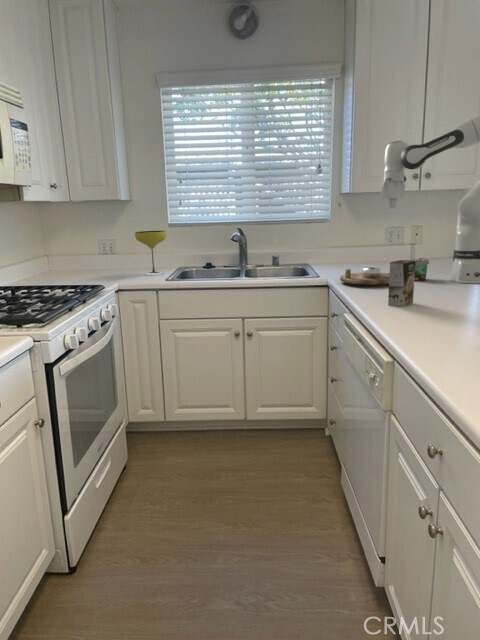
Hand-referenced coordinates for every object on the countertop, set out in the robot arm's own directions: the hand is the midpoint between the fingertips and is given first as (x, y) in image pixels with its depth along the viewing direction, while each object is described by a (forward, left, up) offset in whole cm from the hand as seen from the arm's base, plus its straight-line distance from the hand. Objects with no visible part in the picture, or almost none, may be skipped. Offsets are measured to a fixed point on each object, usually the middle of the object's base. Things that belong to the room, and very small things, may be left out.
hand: (392, 208), depth 224 cm
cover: (+3, +15, -31) cm, 34 cm away
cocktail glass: (+128, +40, -34) cm, 138 cm away
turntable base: (+4, +14, -34) cm, 37 cm away
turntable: (+4, +14, -32) cm, 36 cm away
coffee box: (-25, +53, -34) cm, 68 cm away
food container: (-14, -4, -34) cm, 37 cm away
